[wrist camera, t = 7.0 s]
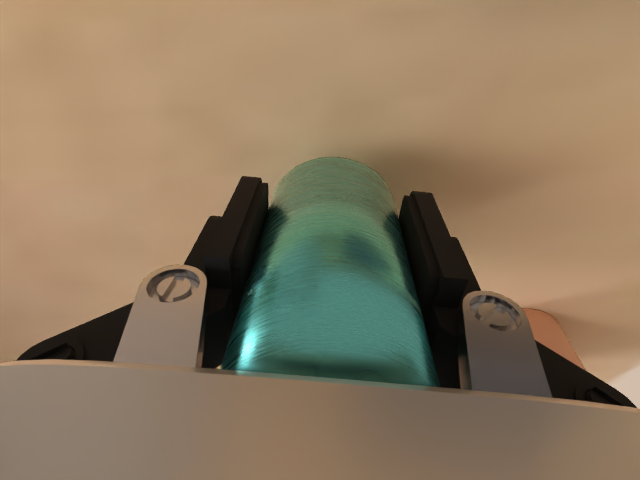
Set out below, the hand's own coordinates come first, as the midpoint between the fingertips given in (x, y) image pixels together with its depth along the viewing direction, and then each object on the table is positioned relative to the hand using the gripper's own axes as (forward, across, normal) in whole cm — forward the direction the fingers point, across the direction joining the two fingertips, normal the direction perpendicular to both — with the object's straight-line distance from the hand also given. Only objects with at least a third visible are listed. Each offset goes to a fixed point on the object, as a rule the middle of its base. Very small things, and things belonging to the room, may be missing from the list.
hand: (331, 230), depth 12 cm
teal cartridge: (+1, 0, 0) cm, 1 cm away
